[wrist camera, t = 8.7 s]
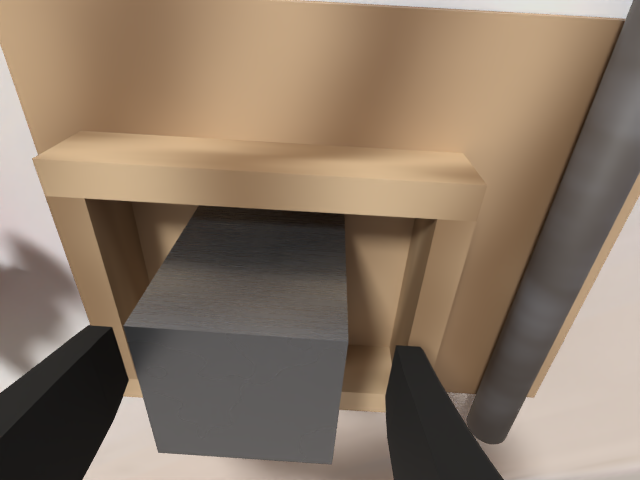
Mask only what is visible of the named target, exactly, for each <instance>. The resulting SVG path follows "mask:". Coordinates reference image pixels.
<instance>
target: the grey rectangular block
mask: <svg viewBox="0 0 640 480" xmlns="http://www.w3.org/2000/svg"><path fill="white" fill-rule="evenodd" d="M123 327H124V331H125V334H126V338H127V341H128V345H129V349H130V352H131V356H132V359H133V363H134V367H135V370H136V374H137V377H138V381H139V385H140V388H141V392H142V395H143V399H144V403H145V406H146V410H147V413H148V417H149V421H150V424H151V428H152V431H153V435H154V439H155V442H156V446H157V449H158V453H172V454H186V455H201V456H216V457H230V458H245V459H260V460H274V461H289V462H304V463H318V464H332V459H333V451H334V444H335V437H336V429H337V422H338V414H339V407H340V400H341V392H342V385H343V378H344V370H345V363H346V356H347V348H348V312H347V281H346V250H345V218H344V214H340V213H323V212H307V211H290V210H273V209H256V208H239V207H222V206H205V205H199V206H198V207H197V209H196V211H195V212H194V214H193V215H192V217H191V219H190V220H189V222H188V223H187V225H186V227H185V228H184V230H183V231H182V233H181V235H180V236H179V238H178V239H177V241H176V243H175V244H174V246H173V247H172V249H171V251H170V252H169V254H168V255H167V257H166V259H165V260H164V262H163V263H162V265H161V267H160V268H159V270H158V271H157V273H156V275H155V276H154V278H153V279H152V281H151V282H150V284H149V286H148V287H147V289H146V290H145V292H144V294H143V295H142V297H141V298H140V300H139V302H138V303H137V305H136V306H135V308H134V310H133V311H132V313H131V314H130V316H129V318H128V319H127V321H126V322H125V324H124V326H123Z"/></svg>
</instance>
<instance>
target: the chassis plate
mask: <svg viewBox="0 0 640 480" xmlns="http://www.w3.org/2000/svg"><path fill="white" fill-rule="evenodd" d="M0 44H1V47H2V50H3V53H4V56H5V59H6V62H7V65H8V68H9V71H10V74H11V77H12V80H13V82H14V85H15V88H16V91H17V94H18V97H19V100H20V103H21V106H22V109H23V112H24V115H25V118H26V121H27V124H28V126H29V129H30V132H31V135H32V138H33V141H34V144H35V147H36V150H37V153H38V156H36V157H34V158H33V159H32V160H33V163H34V166H35V168H36V171H37V174H38V177H39V180H40V183H41V186H42V188H43V191H44V194H45V197H46V200H47V203H48V205H49V208H50V211H51V214H52V217H53V220H54V223H55V225H56V228H57V231H58V234H59V237H60V240H61V242H62V245H63V248H64V251H65V254H66V257H67V260H68V262H69V265H70V268H71V271H72V274H73V277H74V280H75V282H76V285H77V288H78V291H79V294H80V297H81V299H82V302H83V305H84V308H85V311H86V314H87V317H88V319H89V322H90V325H92V326H107V327H112V328H113V331H114V334H115V337H116V340H117V344H118V347H119V350H120V353H121V356H122V359H123V363H124V366H125V369H126V372H127V375H128V379H129V381H128V384H127V387H126V390H125V392H124V395H123V396H126V397H142V398H143V395H142V392H141V388H140V385H139V381H138V377H137V374H136V370H135V367H134V363H133V359H132V356H131V352H130V349H129V345H128V341H127V338H126V334H125V331H124V327H123V326H124V324H125V322H126V321H127V319H128V318H129V316H130V314H131V313H132V311H133V310H134V308H135V306H136V305H137V303H138V302H139V300H140V298H141V297H142V295H143V294H144V292H145V290H146V289H147V287H148V286H149V284H150V282H151V281H152V279H153V278H154V276H155V275H156V273H157V271H158V270H159V268H160V267H161V265H162V263H163V262H164V260H165V259H166V257H167V255H168V254H169V252H170V251H171V249H172V247H173V246H174V244H175V243H176V241H177V239H178V238H179V236H180V235H181V233H182V231H183V230H184V228H185V227H186V225H187V223H188V222H189V220H190V219H191V217H192V215H193V214H194V212H195V211H196V209H197V207H198V206H199V205H205V206H222V207H239V208H256V209H273V210H290V211H307V212H323V213H340V214H344V218H345V250H346V281H347V312H348V348H347V356H346V363H345V370H344V378H343V385H342V392H341V400H340V407H339V410H354V411H370V412H386V405H385V395H386V390H387V385H388V381H389V376H390V371H391V366H392V362H393V357H394V352H395V347H396V345H402V346H418V347H421V348H422V349H423V350H424V352H425V354H426V356H427V358H428V360H429V362H430V364H431V366H432V368H433V369H434V371H435V373H436V375H437V377H438V379H439V380H440V382H441V384H442V386H443V387H444V389H445V391H446V392H452V393H468V394H476V396H475V399H474V401H473V404H472V406H471V409H470V411H469V414H468V416H467V425H468V428H469V430H470V431H471V432H472V434H473V435H474V436H475V437H476V438H478V439H479V440H481V441H483V442H485V443H488V444H499V443H501V442H503V441H504V440H505V438H506V436H507V434H508V432H509V430H510V428H511V426H512V424H513V422H514V420H515V418H516V416H517V414H518V412H519V410H520V408H521V406H522V404H523V402H524V400H525V398H526V397H533V398H534V396H535V395H536V393H537V391H538V389H539V387H540V385H541V383H542V381H543V379H544V377H545V375H546V373H547V372H548V370H549V368H550V366H551V364H552V362H553V360H554V358H555V356H556V354H557V352H558V350H559V349H560V347H561V345H562V343H563V341H564V339H565V337H566V335H567V333H568V331H569V329H570V327H571V326H572V324H573V322H574V320H575V318H576V316H577V314H578V312H579V310H580V308H581V306H582V305H583V303H584V301H585V299H586V297H587V295H588V293H589V291H590V289H591V287H592V285H593V283H594V282H595V280H596V278H597V276H598V274H599V272H600V270H601V268H602V266H603V264H604V262H605V260H606V259H607V257H608V255H609V253H610V251H611V249H612V247H613V245H614V243H615V241H616V239H617V237H618V236H619V234H620V232H621V230H622V228H623V226H624V224H625V222H626V220H627V218H628V216H629V214H630V213H631V211H632V209H633V207H634V205H635V203H636V201H637V199H638V197H639V195H640V0H633V3H632V5H631V8H630V10H629V13H628V15H627V18H626V19H620V18H603V17H585V16H567V15H550V14H532V13H514V12H497V11H479V10H461V9H444V8H426V7H408V6H391V5H373V4H355V3H338V2H320V1H303V0H0Z"/></svg>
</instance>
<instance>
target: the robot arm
mask: <svg viewBox="0 0 640 480" xmlns="http://www.w3.org/2000/svg"><path fill="white" fill-rule="evenodd" d="M128 381H129V379H128V375H127V372H126V369H125V366H124V363H123V359H122V356H121V353H120V350H119V347H118V344H117V340H116V337H115V334H114V331H113V328H112V327H107V326H92V325H88V326H87V327H86V328H84V329H83V330H82V331H80V332H79V333H78V334H76V335H75V336H74V337H72V338H71V339H70V340H68V341H67V342H66V343H65V344H63V345H62V346H61V347H59V348H58V349H57V350H56V351H54V352H53V353H52V354H51V355H49V356H48V357H47V358H45V359H44V360H43V361H42V362H40V363H39V364H38V365H36V366H35V367H34V368H32V369H31V370H30V371H29V372H27V373H26V374H25V375H23V376H22V377H21V378H19V379H18V380H17V381H15V382H14V383H13V384H12V385H10V386H9V387H8V388H6V389H5V390H4V391H2V392H1V393H0V480H82V479H83V478H84V476H85V474H86V472H87V470H88V468H89V466H90V464H91V463H92V461H93V459H94V457H95V455H96V453H97V451H98V449H99V447H100V445H101V444H102V442H103V440H104V438H105V436H106V434H107V432H108V430H109V428H110V426H111V424H112V422H113V420H114V418H115V416H116V413H117V411H118V408H119V406H120V403H121V400H122V398H123V395H124V392H125V390H126V387H127V384H128ZM385 405H386V424H387V438H388V445H389V451H390V458H391V464H392V470H393V476H394V480H504V479H503V478H502V477H501V475H500V474H499V473H498V471H497V470H496V468H495V467H494V466H493V464H492V463H491V461H490V460H489V458H488V457H487V455H486V454H485V453H484V451H483V450H482V448H481V447H480V445H479V444H478V442H477V441H476V439H475V438H474V436H473V435H472V433H471V432H470V430H469V428H468V427H467V425H466V424H465V422H464V421H463V419H462V417H461V416H460V414H459V413H458V411H457V409H456V408H455V406H454V404H453V403H452V401H451V399H450V398H449V396H448V394H447V393H446V391H445V389H444V387H443V386H442V384H441V382H440V380H439V379H438V377H437V375H436V373H435V371H434V369H433V368H432V366H431V364H430V362H429V360H428V358H427V356H426V354H425V352H424V350H423V349H422V348H421V347H418V346H402V345H396V347H395V352H394V357H393V362H392V366H391V371H390V376H389V381H388V385H387V390H386V395H385Z"/></svg>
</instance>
